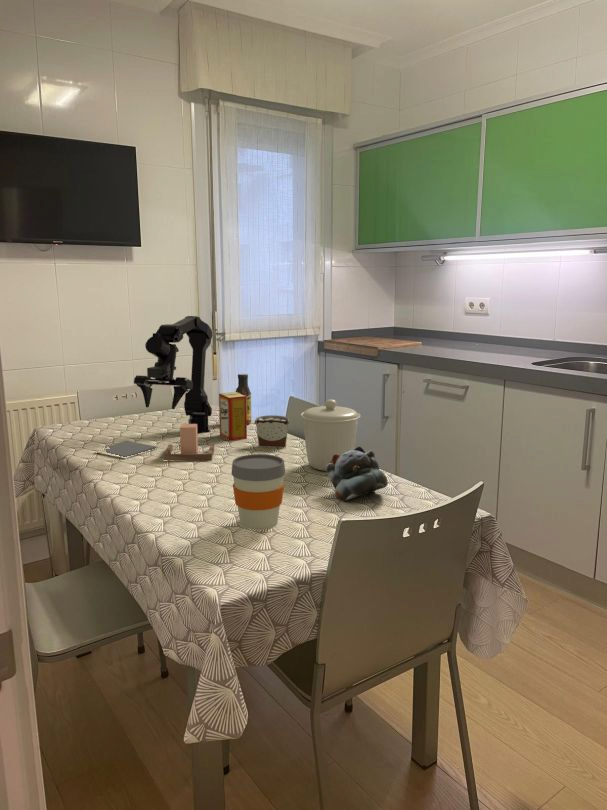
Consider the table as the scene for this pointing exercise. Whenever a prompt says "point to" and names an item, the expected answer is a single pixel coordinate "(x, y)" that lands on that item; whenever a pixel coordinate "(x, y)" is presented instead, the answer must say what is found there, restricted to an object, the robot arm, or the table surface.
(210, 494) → the table surface
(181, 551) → the table surface
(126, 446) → the rubber mat
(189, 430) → the terracotta block
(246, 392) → the sauce bottle
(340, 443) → the canister
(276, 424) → the food container
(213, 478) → the table surface
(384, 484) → the grey stuffed animal
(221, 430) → the baking soda box
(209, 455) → the walnut bay
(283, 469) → the reusable coffee cup
